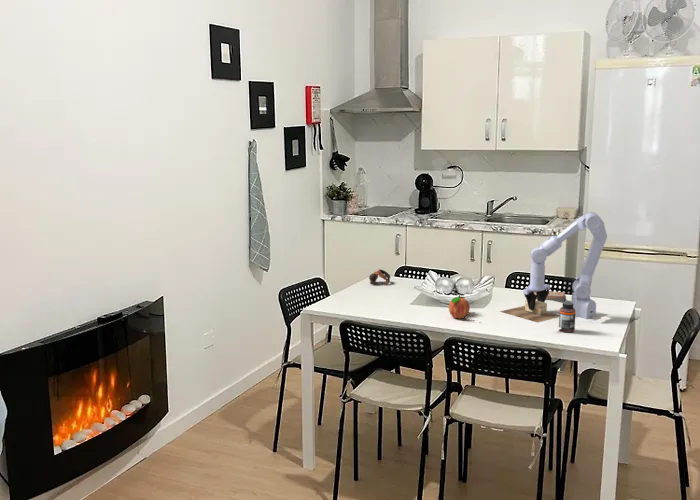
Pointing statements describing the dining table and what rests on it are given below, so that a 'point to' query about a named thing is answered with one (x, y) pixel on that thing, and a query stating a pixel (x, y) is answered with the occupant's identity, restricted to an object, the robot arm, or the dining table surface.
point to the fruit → (459, 307)
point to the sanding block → (537, 308)
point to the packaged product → (555, 296)
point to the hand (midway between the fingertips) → (535, 308)
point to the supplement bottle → (567, 318)
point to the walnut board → (530, 314)
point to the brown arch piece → (381, 273)
